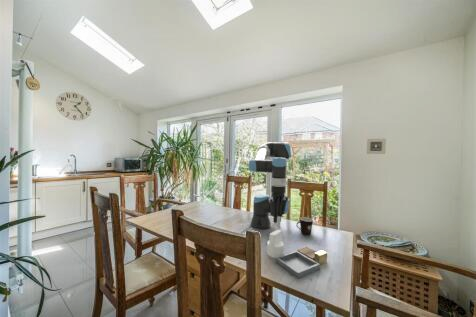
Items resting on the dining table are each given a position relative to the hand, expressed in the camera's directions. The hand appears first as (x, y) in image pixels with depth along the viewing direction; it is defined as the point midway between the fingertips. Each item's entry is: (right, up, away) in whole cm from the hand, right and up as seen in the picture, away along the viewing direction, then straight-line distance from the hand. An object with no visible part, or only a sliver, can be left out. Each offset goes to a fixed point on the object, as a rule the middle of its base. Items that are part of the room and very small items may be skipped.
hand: (276, 227), depth 112 cm
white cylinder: (-1, -15, 0) cm, 15 cm away
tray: (+8, -15, -11) cm, 20 cm away
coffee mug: (+24, -14, +30) cm, 41 cm away
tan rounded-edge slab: (+18, -16, -1) cm, 23 cm away
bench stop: (+21, -15, -7) cm, 27 cm away
